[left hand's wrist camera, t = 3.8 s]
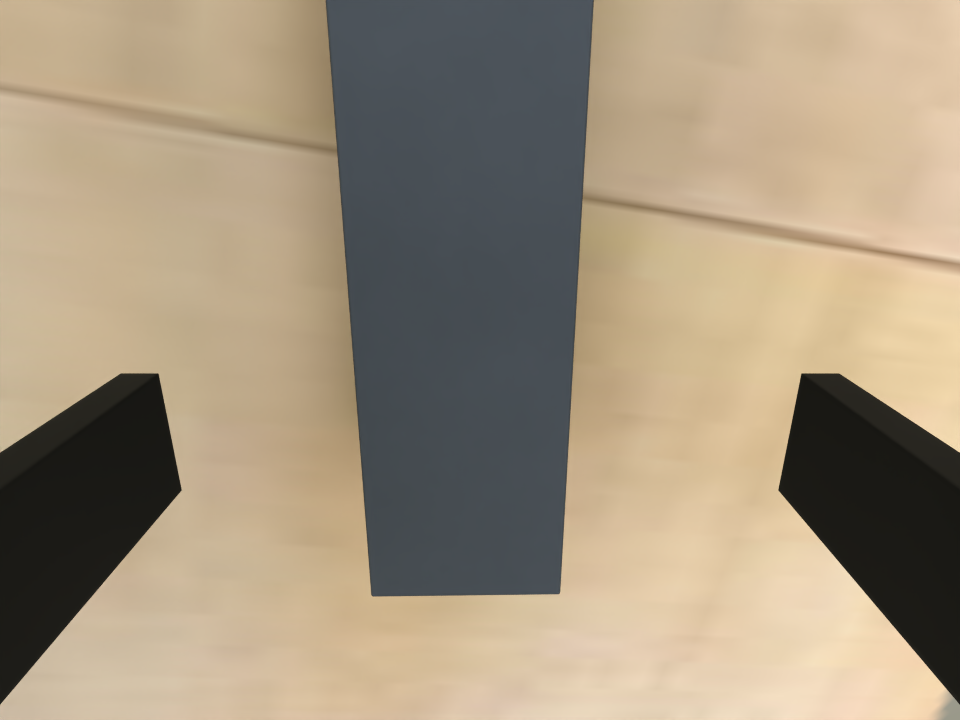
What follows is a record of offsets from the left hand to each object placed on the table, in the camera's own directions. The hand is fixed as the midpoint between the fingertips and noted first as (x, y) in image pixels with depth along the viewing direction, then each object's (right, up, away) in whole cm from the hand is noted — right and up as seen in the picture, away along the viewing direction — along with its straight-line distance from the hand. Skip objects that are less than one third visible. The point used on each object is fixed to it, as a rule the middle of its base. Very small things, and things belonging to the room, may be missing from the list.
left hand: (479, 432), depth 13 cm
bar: (0, +31, -1) cm, 31 cm away
